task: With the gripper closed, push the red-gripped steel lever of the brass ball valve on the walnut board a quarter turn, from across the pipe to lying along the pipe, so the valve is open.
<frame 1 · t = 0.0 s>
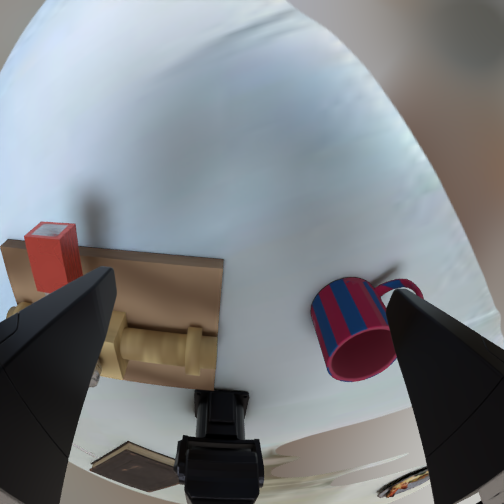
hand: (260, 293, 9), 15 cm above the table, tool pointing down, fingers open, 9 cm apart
valve board: (109, 318, 28), on the table
butter knife: (46, 424, 42), on the table, touching hardcover book
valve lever: (69, 319, 19), point 7 cm above the table, hinge at 0.0°
mug: (357, 295, 28), on the table
food plate: (411, 477, 69), on the table
hardcover book: (142, 466, 48), on the table, touching butter knife
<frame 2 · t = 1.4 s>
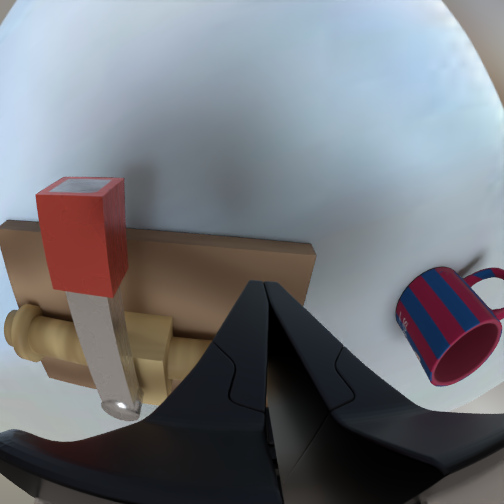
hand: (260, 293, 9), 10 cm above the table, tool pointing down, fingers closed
valve board: (144, 325, 22), on the table
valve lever: (102, 332, 13), point 7 cm above the table, hinge at 0.0°
mug: (442, 288, 22), on the table
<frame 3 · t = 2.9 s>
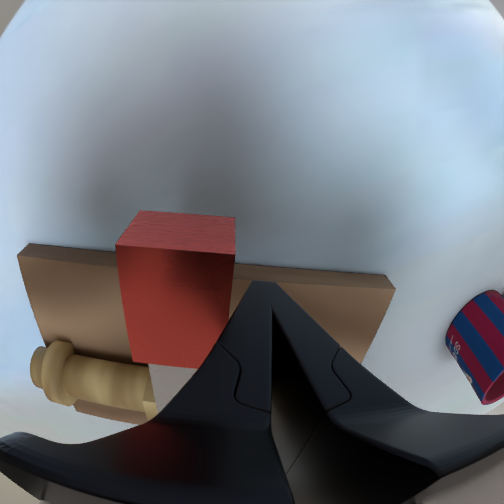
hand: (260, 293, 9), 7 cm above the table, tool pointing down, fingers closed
valve board: (196, 360, 20), on the table
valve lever: (184, 395, 11), point 7 cm above the table, hinge at 0.5°, touching gripper
mug: (487, 309, 21), on the table
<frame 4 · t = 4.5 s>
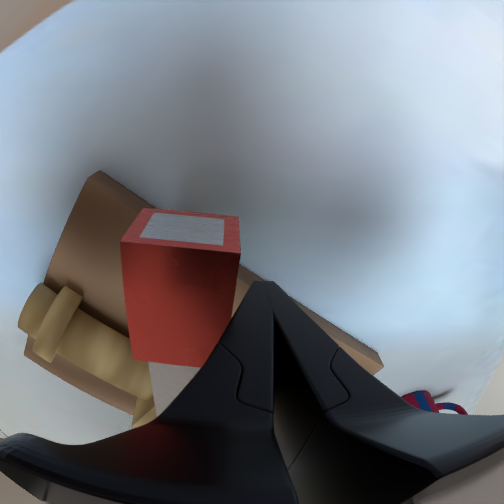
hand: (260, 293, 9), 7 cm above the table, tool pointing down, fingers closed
valve board: (192, 360, 20), on the table
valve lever: (182, 393, 11), point 7 cm above the table, hinge at 30.7°, touching gripper
mug: (414, 404, 27), on the table
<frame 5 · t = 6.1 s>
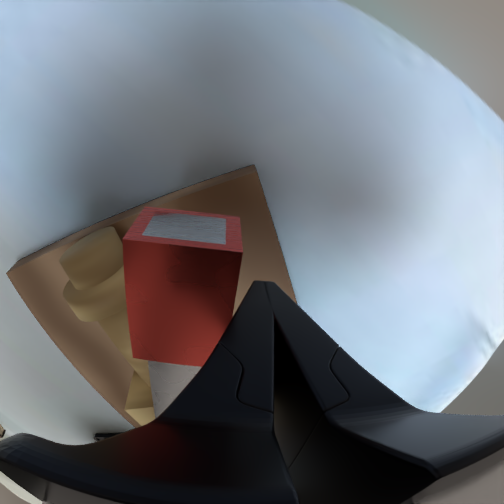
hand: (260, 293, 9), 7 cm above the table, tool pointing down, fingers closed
valve board: (190, 360, 20), on the table
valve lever: (180, 393, 11), point 7 cm above the table, hinge at 63.4°, touching gripper
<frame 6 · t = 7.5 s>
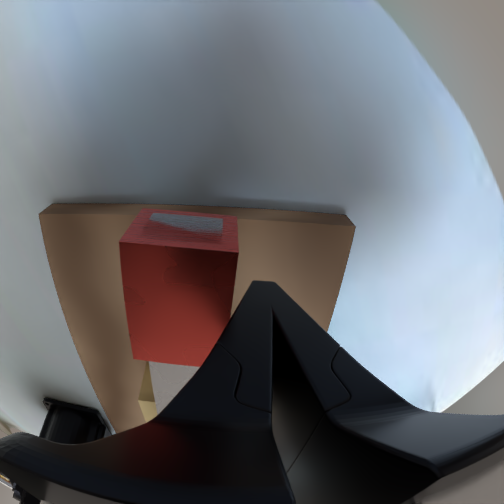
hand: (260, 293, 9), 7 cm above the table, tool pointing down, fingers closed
valve board: (194, 359, 20), on the table
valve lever: (183, 393, 11), point 7 cm above the table, hinge at 86.9°, touching gripper
food plate: (2, 473, 50), on the table
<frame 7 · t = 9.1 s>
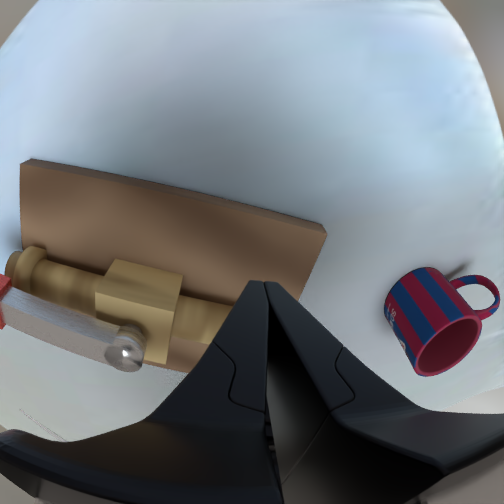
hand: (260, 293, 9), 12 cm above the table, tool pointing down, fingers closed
valve board: (149, 283, 23), on the table
butter knife: (18, 405, 34), on the table
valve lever: (41, 319, 15), point 7 cm above the table, hinge at 87.0°
mug: (428, 288, 25), on the table
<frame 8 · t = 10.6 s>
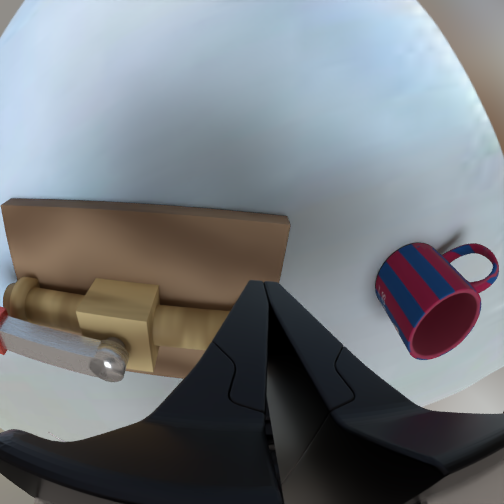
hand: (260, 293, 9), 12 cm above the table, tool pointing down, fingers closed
valve board: (134, 296, 24), on the table
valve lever: (35, 342, 17), point 7 cm above the table, hinge at 87.0°
mug: (422, 265, 24), on the table
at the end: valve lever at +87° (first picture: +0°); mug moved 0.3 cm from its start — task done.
